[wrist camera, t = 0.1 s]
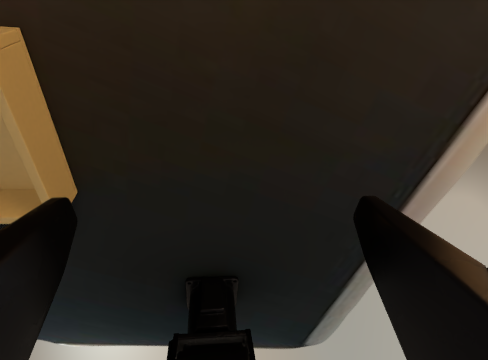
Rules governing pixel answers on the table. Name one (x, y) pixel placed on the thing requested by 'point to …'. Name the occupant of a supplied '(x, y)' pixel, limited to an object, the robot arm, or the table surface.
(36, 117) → the tray
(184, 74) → the table surface
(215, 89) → the table surface
